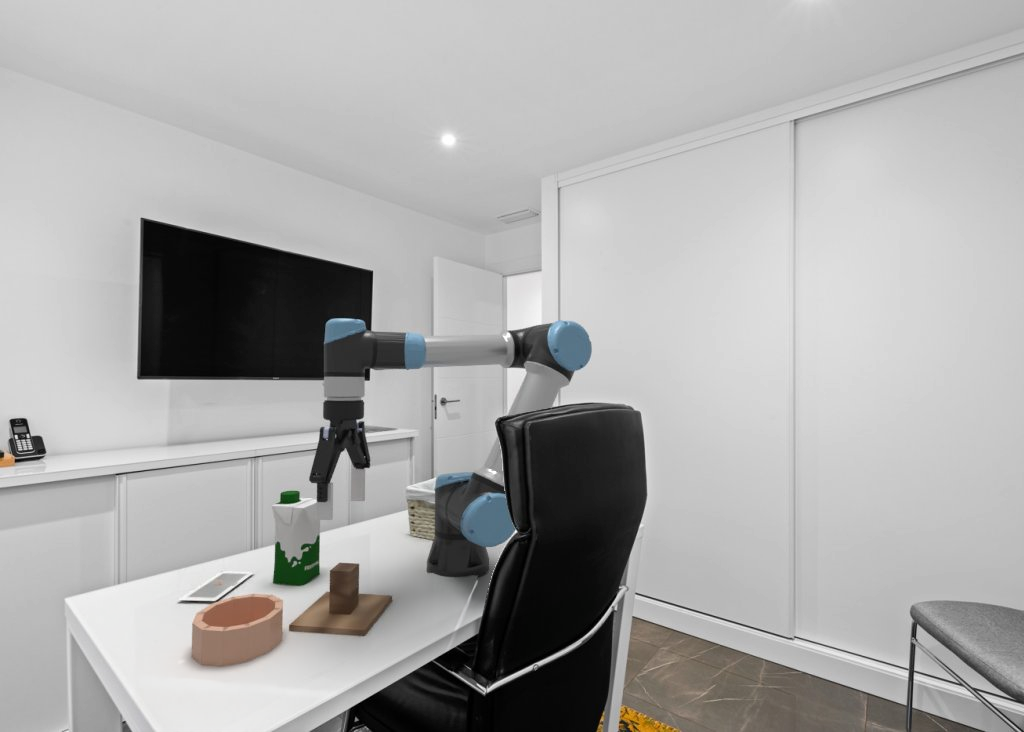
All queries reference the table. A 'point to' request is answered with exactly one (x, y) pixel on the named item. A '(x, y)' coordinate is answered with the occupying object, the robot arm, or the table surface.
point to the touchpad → (216, 586)
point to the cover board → (342, 621)
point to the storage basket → (422, 508)
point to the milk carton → (296, 539)
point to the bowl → (237, 629)
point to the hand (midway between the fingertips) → (342, 509)
